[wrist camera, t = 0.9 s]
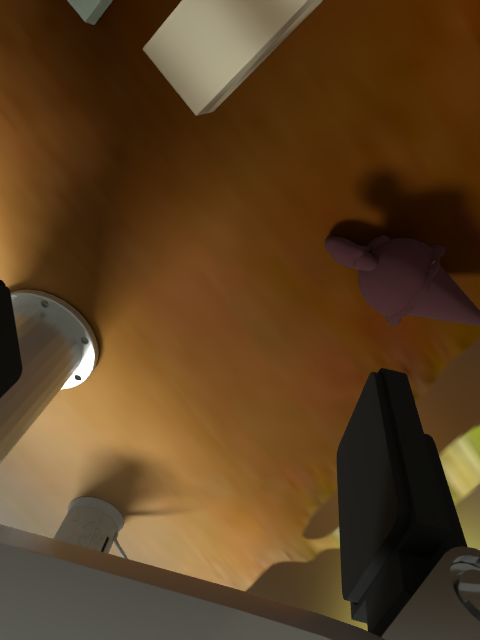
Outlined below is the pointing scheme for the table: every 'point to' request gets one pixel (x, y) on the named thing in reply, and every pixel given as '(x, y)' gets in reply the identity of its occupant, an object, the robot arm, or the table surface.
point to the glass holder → (91, 525)
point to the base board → (90, 9)
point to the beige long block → (220, 44)
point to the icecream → (404, 279)
